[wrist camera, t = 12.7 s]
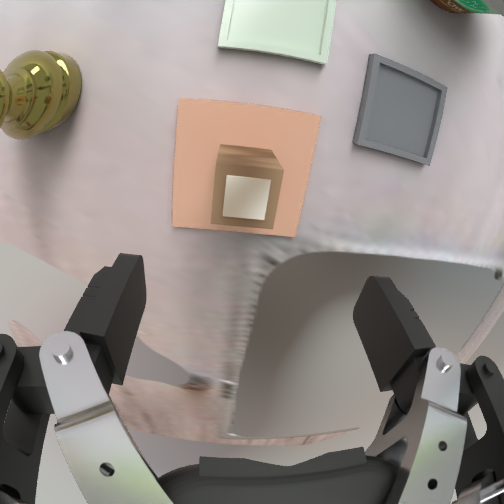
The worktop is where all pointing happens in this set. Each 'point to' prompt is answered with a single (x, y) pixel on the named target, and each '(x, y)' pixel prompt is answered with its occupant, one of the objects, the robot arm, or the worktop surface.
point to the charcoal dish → (399, 110)
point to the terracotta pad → (240, 134)
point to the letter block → (246, 187)
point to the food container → (471, 6)
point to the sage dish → (279, 27)
